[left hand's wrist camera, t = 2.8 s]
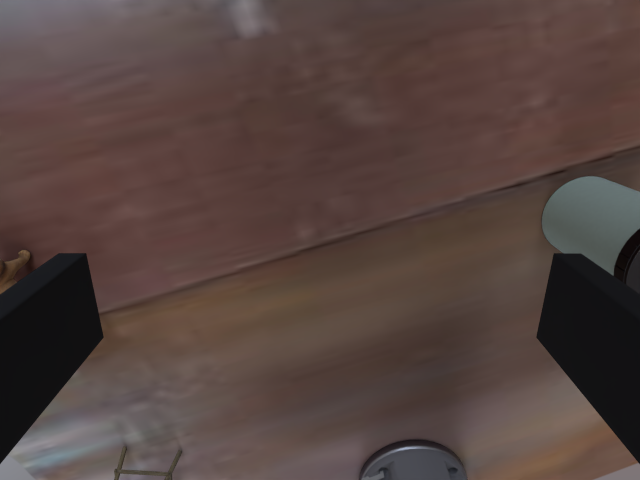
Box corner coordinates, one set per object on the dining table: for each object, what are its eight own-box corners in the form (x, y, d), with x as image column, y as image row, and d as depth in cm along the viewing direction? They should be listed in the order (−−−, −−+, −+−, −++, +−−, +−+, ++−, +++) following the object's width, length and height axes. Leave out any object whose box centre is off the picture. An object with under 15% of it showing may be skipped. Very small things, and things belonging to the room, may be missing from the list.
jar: (561, 265, 51) (649, 336, 38) (527, 206, 49) (608, 259, 35) (634, 223, 49) (755, 281, 36) (603, 159, 47) (720, 195, 33)
